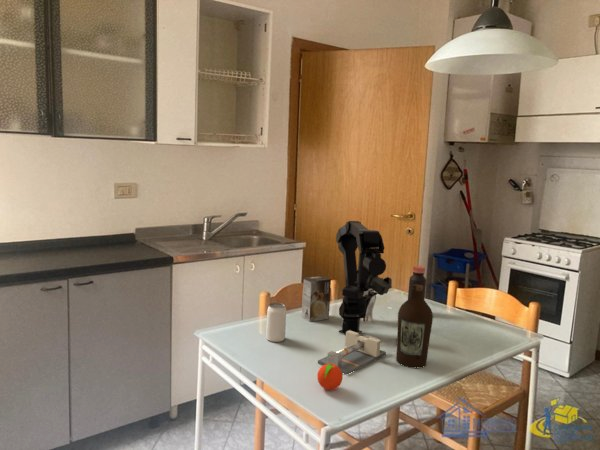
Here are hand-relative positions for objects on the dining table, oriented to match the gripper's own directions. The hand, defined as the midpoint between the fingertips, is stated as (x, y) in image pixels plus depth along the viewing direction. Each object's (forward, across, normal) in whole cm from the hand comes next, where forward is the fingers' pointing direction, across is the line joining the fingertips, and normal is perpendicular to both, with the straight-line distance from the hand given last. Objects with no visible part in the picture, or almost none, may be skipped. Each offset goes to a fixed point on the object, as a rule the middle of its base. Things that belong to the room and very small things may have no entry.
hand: (363, 313), depth 166 cm
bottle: (+12, +48, +5) cm, 50 cm away
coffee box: (+12, +11, +29) cm, 33 cm away
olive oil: (+12, +1, -18) cm, 22 cm away
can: (+12, -17, +24) cm, 31 cm away
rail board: (+12, -11, -4) cm, 17 cm away
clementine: (+12, -33, -11) cm, 37 cm away
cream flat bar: (+10, -6, -4) cm, 13 cm away
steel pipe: (+12, -11, -4) cm, 17 cm away
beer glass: (+12, +24, +14) cm, 30 cm away
